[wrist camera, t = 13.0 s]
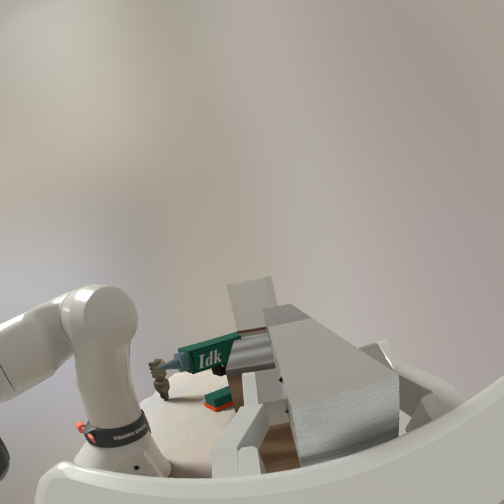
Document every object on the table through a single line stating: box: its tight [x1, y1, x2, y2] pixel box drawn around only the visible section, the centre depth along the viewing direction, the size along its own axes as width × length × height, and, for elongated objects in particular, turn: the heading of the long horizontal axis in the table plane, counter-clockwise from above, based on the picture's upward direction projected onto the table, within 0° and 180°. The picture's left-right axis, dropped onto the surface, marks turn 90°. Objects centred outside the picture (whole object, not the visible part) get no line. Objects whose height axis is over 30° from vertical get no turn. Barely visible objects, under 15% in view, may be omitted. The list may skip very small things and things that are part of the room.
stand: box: [226, 334, 301, 473], centre depth 36 cm, size 16×14×26 cm
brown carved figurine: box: [149, 359, 170, 400], centre depth 81 cm, size 6×6×15 cm
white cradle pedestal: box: [227, 276, 277, 339], centre depth 82 cm, size 11×11×35 cm
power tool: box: [154, 332, 242, 412], centre depth 72 cm, size 32×7×20 cm, turn 129°
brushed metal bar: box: [263, 304, 399, 467], centre depth 17 cm, size 23×3×2 cm, turn 0°
